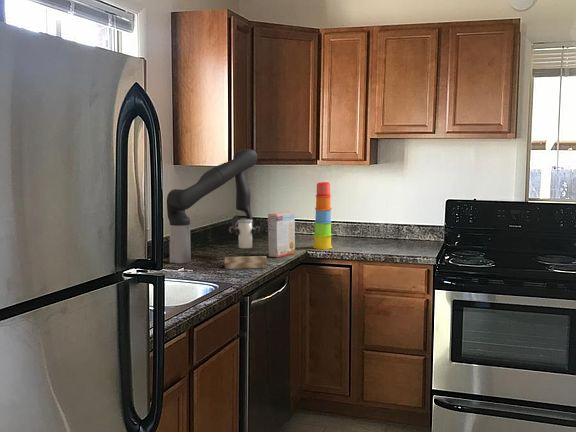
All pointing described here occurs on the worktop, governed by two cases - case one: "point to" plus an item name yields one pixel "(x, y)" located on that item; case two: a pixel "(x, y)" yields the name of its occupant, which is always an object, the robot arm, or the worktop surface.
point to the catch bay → (246, 262)
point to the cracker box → (281, 234)
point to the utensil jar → (245, 233)
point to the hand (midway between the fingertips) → (245, 232)
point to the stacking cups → (323, 217)
